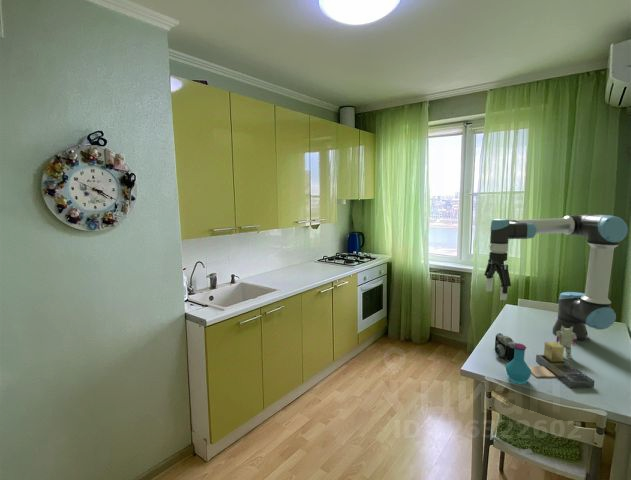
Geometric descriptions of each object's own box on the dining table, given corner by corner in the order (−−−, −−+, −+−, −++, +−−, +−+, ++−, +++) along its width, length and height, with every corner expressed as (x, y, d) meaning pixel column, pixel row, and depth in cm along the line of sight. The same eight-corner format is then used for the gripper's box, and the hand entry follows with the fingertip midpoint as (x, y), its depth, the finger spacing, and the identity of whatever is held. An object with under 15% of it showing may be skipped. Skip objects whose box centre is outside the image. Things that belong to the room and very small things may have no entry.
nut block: (554, 362, 156) (556, 341, 155) (562, 368, 151) (564, 347, 150) (543, 363, 156) (544, 342, 155) (550, 368, 151) (552, 347, 150)
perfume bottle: (500, 374, 148) (502, 340, 145) (520, 373, 148) (523, 339, 146) (514, 386, 138) (516, 351, 136) (535, 385, 139) (538, 349, 137)
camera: (487, 349, 170) (488, 330, 169) (500, 348, 171) (501, 329, 169) (505, 364, 156) (506, 343, 154) (519, 363, 156) (521, 342, 155)
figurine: (578, 358, 160) (581, 327, 158) (568, 362, 156) (571, 330, 154) (560, 351, 167) (562, 321, 165) (550, 354, 163) (552, 324, 161)
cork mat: (543, 367, 152) (543, 366, 152) (555, 377, 144) (555, 376, 144) (524, 367, 152) (525, 366, 152) (536, 377, 144) (536, 376, 144)
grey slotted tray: (555, 360, 158) (556, 354, 158) (593, 388, 136) (594, 380, 136) (535, 360, 158) (536, 354, 158) (570, 388, 136) (571, 381, 136)
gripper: (478, 247, 176) (476, 288, 179) (504, 257, 151) (501, 303, 154) (493, 247, 176) (491, 287, 179) (521, 256, 151) (518, 303, 154)
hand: (495, 295), depth 167 cm, fingers open, 13 cm apart
